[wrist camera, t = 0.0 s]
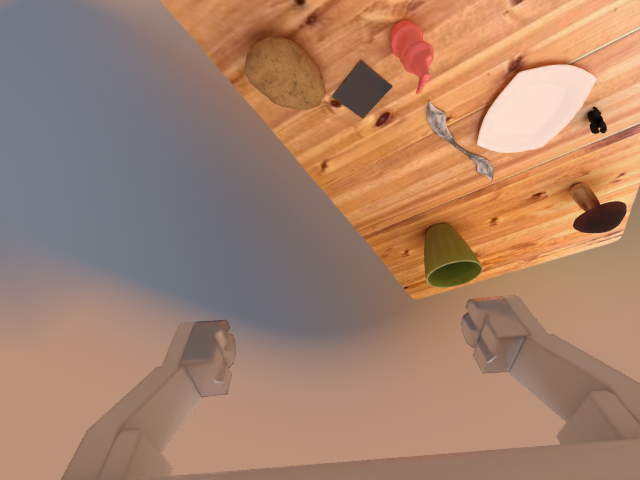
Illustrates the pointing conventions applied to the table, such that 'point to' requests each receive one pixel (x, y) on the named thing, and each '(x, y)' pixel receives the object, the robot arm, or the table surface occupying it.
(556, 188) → the table surface
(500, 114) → the plate
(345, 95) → the coaster
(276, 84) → the potato
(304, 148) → the table surface
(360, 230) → the table surface
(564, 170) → the table surface
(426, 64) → the figurine
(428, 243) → the flower pot
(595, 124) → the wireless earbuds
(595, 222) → the decorative mushroom
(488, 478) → the robot arm
